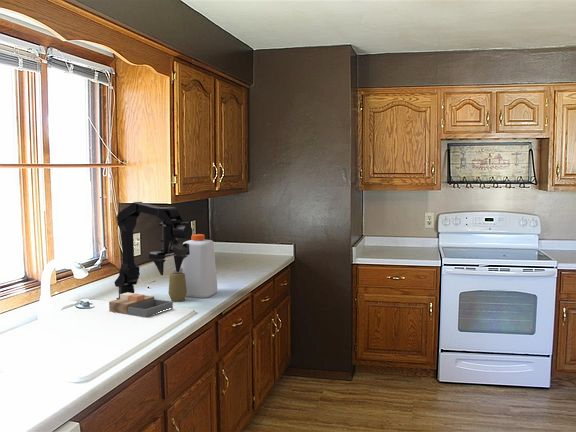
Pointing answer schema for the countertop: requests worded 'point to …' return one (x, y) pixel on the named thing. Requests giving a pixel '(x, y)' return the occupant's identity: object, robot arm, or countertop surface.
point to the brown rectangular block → (125, 304)
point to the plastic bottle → (200, 268)
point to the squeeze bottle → (177, 285)
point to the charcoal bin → (149, 307)
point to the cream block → (126, 295)
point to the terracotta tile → (136, 297)
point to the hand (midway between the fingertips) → (169, 273)
